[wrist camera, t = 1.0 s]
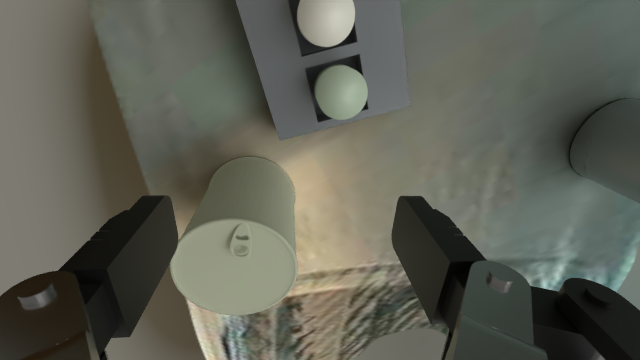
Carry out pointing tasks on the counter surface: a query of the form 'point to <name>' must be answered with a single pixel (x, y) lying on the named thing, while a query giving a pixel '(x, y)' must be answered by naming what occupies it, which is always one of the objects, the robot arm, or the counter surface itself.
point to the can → (240, 240)
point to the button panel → (325, 61)
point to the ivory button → (325, 21)
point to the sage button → (340, 91)
